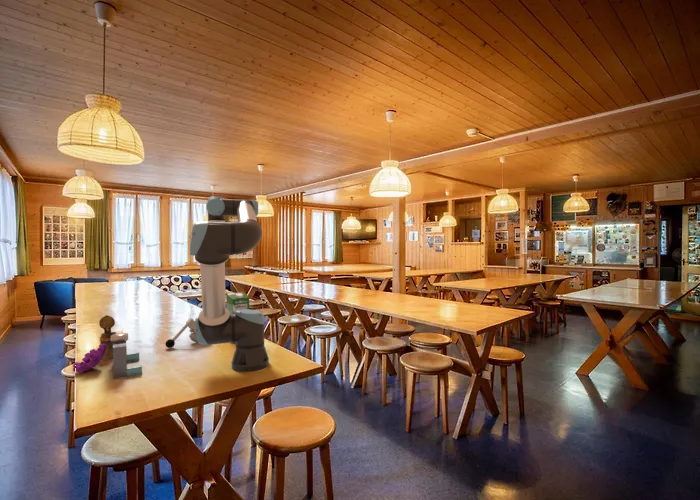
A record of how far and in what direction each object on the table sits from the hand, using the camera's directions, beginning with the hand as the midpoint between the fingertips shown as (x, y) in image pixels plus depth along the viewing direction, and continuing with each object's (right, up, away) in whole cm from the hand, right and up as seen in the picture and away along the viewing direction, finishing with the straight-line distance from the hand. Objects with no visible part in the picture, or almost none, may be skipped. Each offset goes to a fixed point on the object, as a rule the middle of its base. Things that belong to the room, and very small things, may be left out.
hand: (217, 279), depth 171 cm
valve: (-15, -37, +16) cm, 43 cm away
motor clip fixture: (-29, -35, -23) cm, 51 cm away
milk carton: (+4, -34, +21) cm, 40 cm away
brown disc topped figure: (-48, -35, -5) cm, 59 cm away
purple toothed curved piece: (-43, -35, -24) cm, 61 cm away
